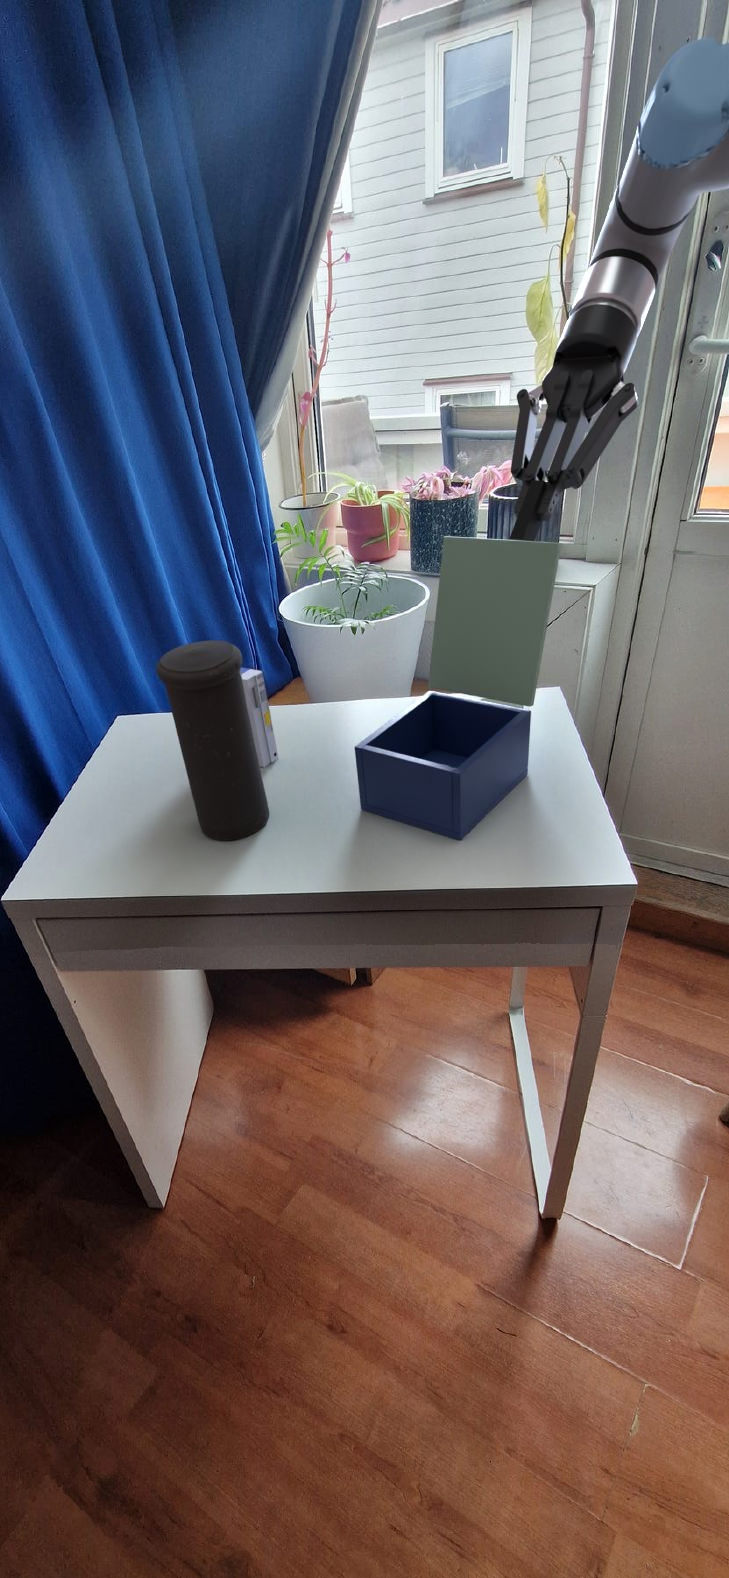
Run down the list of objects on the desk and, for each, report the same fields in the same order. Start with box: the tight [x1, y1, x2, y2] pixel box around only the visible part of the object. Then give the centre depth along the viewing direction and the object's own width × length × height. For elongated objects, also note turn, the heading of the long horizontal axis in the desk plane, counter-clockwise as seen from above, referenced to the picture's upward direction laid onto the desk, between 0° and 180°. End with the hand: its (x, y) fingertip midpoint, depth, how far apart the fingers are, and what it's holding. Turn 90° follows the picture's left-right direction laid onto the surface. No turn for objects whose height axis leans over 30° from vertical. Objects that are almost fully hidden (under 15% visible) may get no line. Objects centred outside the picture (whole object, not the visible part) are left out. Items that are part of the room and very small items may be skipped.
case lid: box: [427, 535, 563, 707], centre depth 80 cm, size 16×13×1 cm
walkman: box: [240, 666, 279, 768], centre depth 94 cm, size 8×3×12 cm, turn 52°
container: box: [156, 639, 270, 841], centre depth 80 cm, size 9×9×20 cm
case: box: [354, 690, 532, 841], centre depth 83 cm, size 15×13×8 cm
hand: (519, 547), depth 80 cm, fingers closed
